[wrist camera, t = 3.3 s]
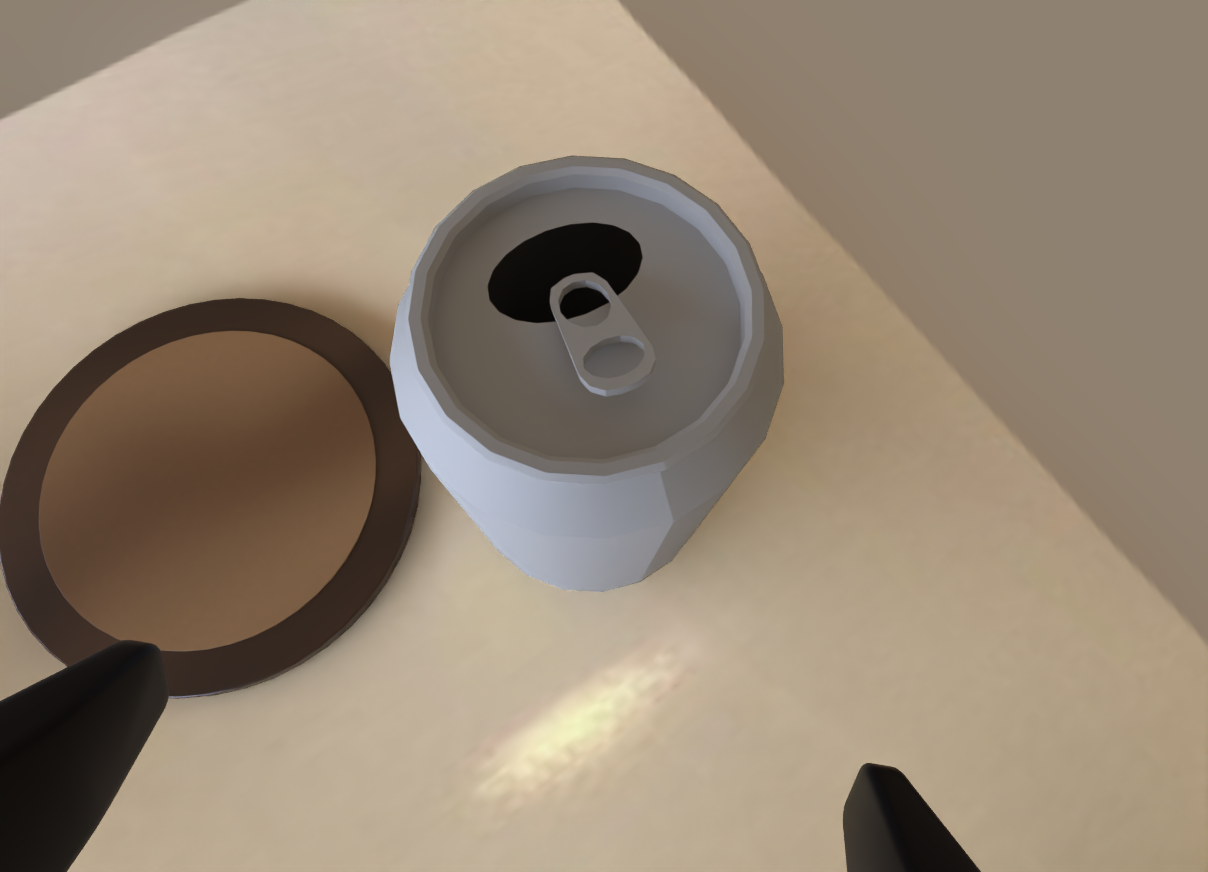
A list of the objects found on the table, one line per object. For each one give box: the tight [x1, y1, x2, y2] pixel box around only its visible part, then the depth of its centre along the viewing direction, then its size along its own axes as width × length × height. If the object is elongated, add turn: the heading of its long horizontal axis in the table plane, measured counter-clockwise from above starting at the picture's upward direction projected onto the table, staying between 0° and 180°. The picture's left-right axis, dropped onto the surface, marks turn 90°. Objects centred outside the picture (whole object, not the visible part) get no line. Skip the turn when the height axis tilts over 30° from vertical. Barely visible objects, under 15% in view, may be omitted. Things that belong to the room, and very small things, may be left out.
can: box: [389, 156, 784, 592], centre depth 17 cm, size 8×8×12 cm
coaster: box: [0, 298, 421, 698], centre depth 23 cm, size 13×13×1 cm
